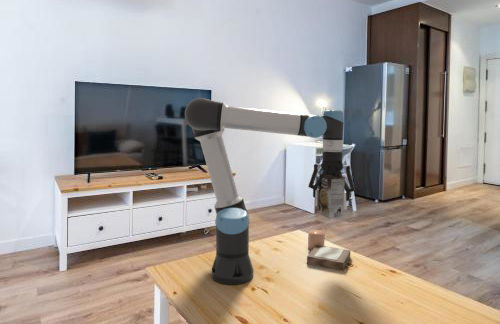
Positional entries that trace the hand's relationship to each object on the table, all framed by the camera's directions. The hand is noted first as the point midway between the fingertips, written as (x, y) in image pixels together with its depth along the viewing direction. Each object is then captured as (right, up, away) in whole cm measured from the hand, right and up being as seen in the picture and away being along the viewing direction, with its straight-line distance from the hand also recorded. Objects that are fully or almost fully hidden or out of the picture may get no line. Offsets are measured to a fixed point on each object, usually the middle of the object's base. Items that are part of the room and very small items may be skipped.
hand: (330, 207), depth 140 cm
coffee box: (0, -4, 0) cm, 4 cm away
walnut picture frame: (0, -22, +3) cm, 22 cm away
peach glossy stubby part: (-3, -20, +16) cm, 26 cm away
